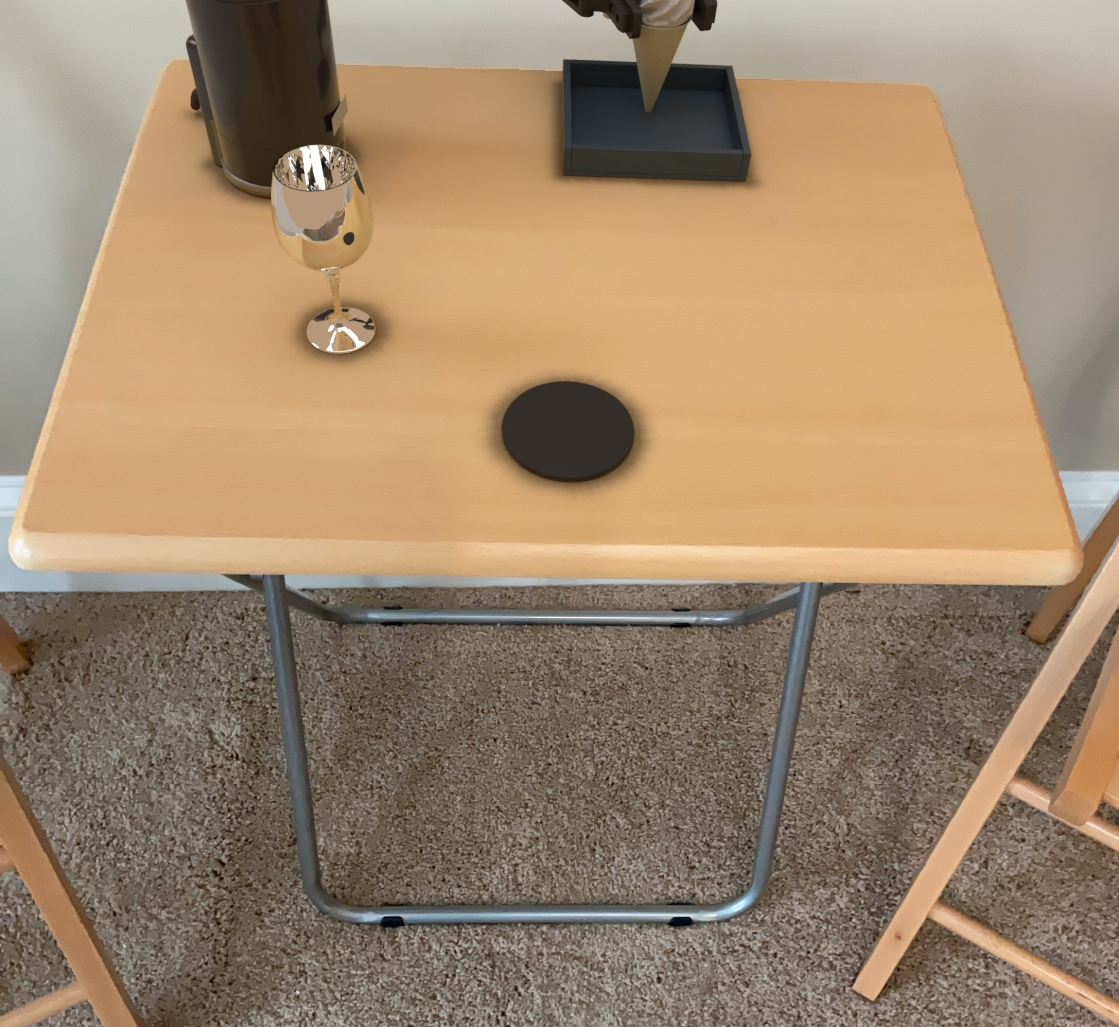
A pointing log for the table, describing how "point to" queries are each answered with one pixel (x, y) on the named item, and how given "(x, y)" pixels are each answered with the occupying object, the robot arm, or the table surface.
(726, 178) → the tray
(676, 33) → the ice cream cone
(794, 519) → the table surface
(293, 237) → the wineglass
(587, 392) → the coaster
